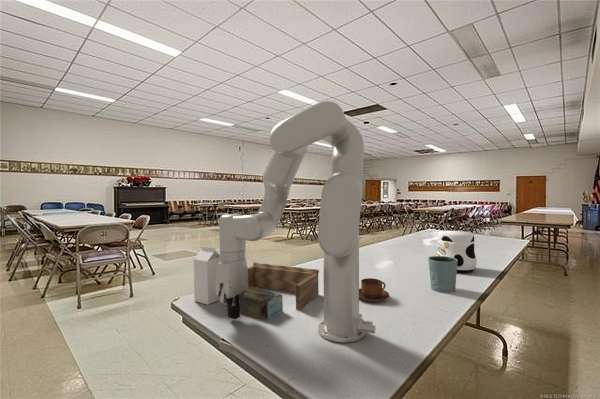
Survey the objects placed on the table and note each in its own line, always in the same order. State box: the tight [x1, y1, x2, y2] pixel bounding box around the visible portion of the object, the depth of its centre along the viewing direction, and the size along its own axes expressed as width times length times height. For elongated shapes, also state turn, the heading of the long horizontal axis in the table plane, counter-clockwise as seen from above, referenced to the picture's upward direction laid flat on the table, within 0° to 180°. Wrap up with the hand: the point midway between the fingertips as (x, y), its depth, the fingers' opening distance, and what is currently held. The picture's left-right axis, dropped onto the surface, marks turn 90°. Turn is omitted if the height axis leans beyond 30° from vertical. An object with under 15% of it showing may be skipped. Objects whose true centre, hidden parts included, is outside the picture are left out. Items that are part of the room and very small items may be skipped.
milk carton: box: [193, 245, 220, 306], centre depth 103 cm, size 7×7×19 cm
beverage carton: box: [225, 286, 284, 321], centre depth 94 cm, size 8×19×6 cm, turn 56°
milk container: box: [435, 230, 478, 273], centre depth 141 cm, size 17×17×18 cm
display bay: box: [247, 261, 320, 311], centre depth 107 cm, size 29×16×9 cm, turn 64°
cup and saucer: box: [359, 277, 390, 303], centre depth 104 cm, size 12×12×6 cm
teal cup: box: [427, 255, 458, 294], centre depth 112 cm, size 10×10×12 cm
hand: (233, 317), depth 86 cm, fingers closed
